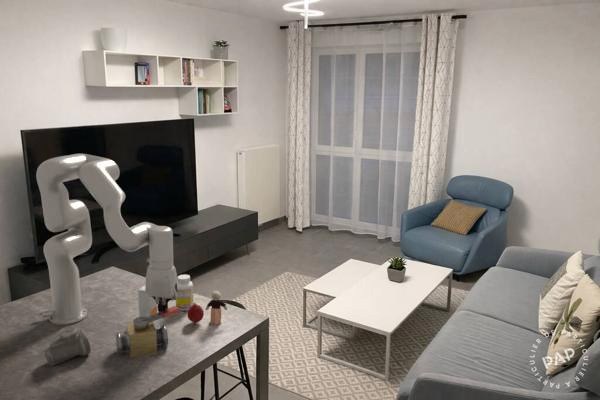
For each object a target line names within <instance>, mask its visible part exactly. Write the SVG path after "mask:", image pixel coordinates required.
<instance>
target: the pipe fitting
mask: <svg viewBox="0 0 600 400" xmlns="http://www.w3.org/2000/svg"><path fill="white" fill-rule="evenodd" d="M58 336H59V338H57V339H55V340H53V341H51V342H50V344H49V346H48V347H45V350H44V356H45V359H46V362H47V363H48V365H50V366H52V367H54V366H56V365H59V364H62V363H63V362H65V361H67V360H70V359H72V358H74V357H76V356H86V355H88V354H90V353H91V344H90V341H89V339H88V337H87V335H86V332H84V331H83V329H77V327H76V326H71V325H70V326H66V327H63V328H62V329H60V331H59V332H58Z"/></svg>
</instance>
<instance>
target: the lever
mask: <svg viewBox="0 0 600 400" xmlns="http://www.w3.org/2000/svg"><path fill="white" fill-rule="evenodd" d="M179 313H180V310H179V308H178V307H176V305H174V306H171V307H168V309H165V310H162V311H159V313H158V312H157V314H154V315H151V316H148V317H139V316H137V317H135V318H134V319H133V321H132V323H133V324H134V329H137V330H142V329H145V328H147V327H148V326H149V323H150V322H153V323H154V322H155V321H158V320H160V319H167V318H168V317H169V318H170V317H172V316H174V315H177V314H179Z"/></svg>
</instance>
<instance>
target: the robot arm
mask: <svg viewBox="0 0 600 400" xmlns="http://www.w3.org/2000/svg"><path fill="white" fill-rule="evenodd" d="M120 172H121V171H120V167H119V165H118V164H117V163H116V162H115V161H114V160H112V159H110V158H108V157H107V158H106V157H101V156H97V155H92V154H87V153H74V154H69V155H61V156H56V157H52V158H48V159H47V160H45V161H43V162H42V163H40V165H38V167H37V170H36V175H35V177H36V182H37V186H38V189H39V192H40V197H41V206H42V211H43V212H42V213H43V219H44V220H43V221H44V225H45V227H46V229H47V230H48V231H49V232H52V233H59V232H62V233H59V234H56V235H53V236H52V237H51V238H49V239H47V240H46V241H45V243H44V245H43V254H44V258H45V260H46V263H47V266H48V267H47V269H48V274H49V282H50V283H49V284H50V294H51V307H48V308H46V309H44V308H43V309H39V311H38V313H39V316H42V318H45V317H48V320H49V322H50V323H51V324H53V325H58V326H59V325H60V326H61V325H62V326H63V325H71V324H74V323H78V322H80V321H82V320H83V319H85V318H86V317H87V315H88V310H87V309H86V308H84V307H83V306H82V305H83V304H82V293H81V281H80V271H79V268H78V266H77V264H76V263H75V261H74V258H75V257H77V256H79V255H82V254H83V253H85V252H86V253H87V251H89V250H90V248H91V246H92V244H93V235H92V234H93V233H92V226H91V217H90V211H89V209H88V208H87V205H86V204H85V203H84V202H83V201H82V200H79V199H70V198H69V197H70V195H69V192H68V189H67V187H66V186H65V185H64V183H65V182H69V181H73V180H77V179H79V180H80V182H81V183H82V184H83V185H84V187H85V189H87V191H88V192H89V193H90V194H91V195H92V197H93V198H94V200H96V202H97V203H98V205H99V206H100V207H101V209H102V210H103V221H104V226H105V229H106V231H107V233H108V234H109V236H110V237H111V239H112V240H113V241H114V242H115V243H116V244H117V246H118V247H119V248H121V250H124V251H125V252H129V253H131V252H136V251H138V250H139V249H141V248H143V247H146V246H149V249H148V250H149V257H146V262H147V263H149V265H148V266H147V268H146V274H145V284H144V285H145V291H146V294H147V295H148V296H150V297H153V298H154V300H155V301H156V303H157V313H159V311H162V310H165V309H168V308H169V304H168V303H169V302H170V301H176V299H177V298H178V296H177V293H178V274H177V269H176V266H175V265H174V234H173V229H172V228H171V227H169V226H166V225H157V224H155V223H152V222H148V221H143V222H140V223H137V224H136V225H135V224H134V225H133V226H131V227H129V226H128V225H127V223H126V222H125V219H124V218H123V217H122V214H121V206H122V204H123V203H124V201H125V199H126V194H125V192H124V190H122V188H121V187H120V186H119V184H117V182H116V181H117V180H118V179H119V177H120V175H121V174H120ZM65 230H67V231H65ZM63 231H64V232H63Z"/></svg>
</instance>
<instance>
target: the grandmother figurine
mask: <svg viewBox="0 0 600 400" xmlns="http://www.w3.org/2000/svg"><path fill="white" fill-rule="evenodd" d="M221 296H222V294H221V293H220V291H218V290H214V291H212V293H211V297H212V299H211V300H210V301H208V303H207V305H206V307H205V310H206V311H208V310H209V308H210V316H209V317H210V321H209V322H208V325H210V326H213V325H216V326H220V325H221V324H222V322H221V321H222V308H221V307H223V308H224V310H225V311H227V310H228V307H227V305H226V303H225V302H224V301H222V300H220V298H221Z"/></svg>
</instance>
